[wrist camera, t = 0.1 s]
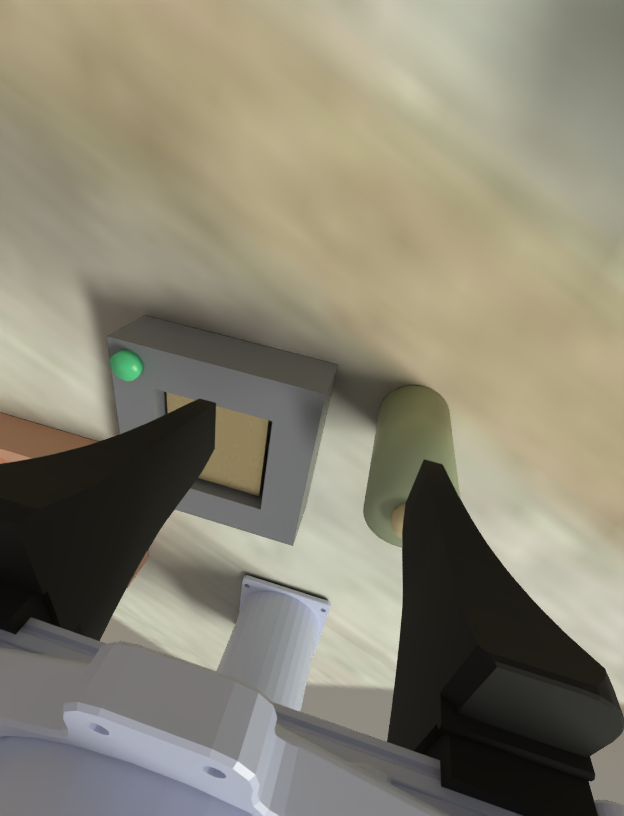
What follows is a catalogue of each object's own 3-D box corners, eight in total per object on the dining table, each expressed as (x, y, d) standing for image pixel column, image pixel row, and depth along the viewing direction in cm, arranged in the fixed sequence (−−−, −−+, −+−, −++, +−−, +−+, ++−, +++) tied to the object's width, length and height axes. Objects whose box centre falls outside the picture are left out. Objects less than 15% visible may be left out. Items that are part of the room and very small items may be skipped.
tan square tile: (261, 489, 26) (258, 495, 25) (174, 463, 27) (170, 469, 26) (271, 413, 23) (268, 418, 22) (171, 385, 23) (166, 390, 23)
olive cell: (435, 450, 24) (443, 571, 17) (371, 433, 24) (352, 544, 17) (460, 395, 22) (480, 507, 15) (389, 377, 22) (375, 478, 15)
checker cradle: (305, 508, 29) (290, 553, 26) (155, 463, 30) (122, 501, 27) (337, 364, 22) (323, 400, 19) (145, 315, 24) (98, 340, 20)
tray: (148, 557, 37) (127, 588, 35) (26, 517, 39) (-4, 544, 36) (137, 453, 30) (109, 481, 27) (-12, 409, 32) (-53, 432, 29)
